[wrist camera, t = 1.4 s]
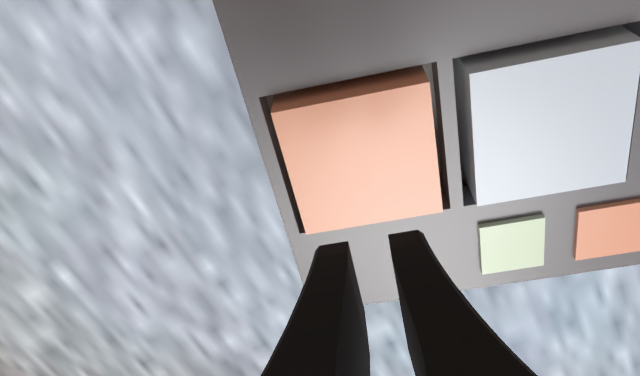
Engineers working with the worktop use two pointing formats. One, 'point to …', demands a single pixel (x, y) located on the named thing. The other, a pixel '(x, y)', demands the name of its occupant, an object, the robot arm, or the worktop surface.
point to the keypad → (436, 58)
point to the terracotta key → (360, 149)
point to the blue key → (547, 114)
